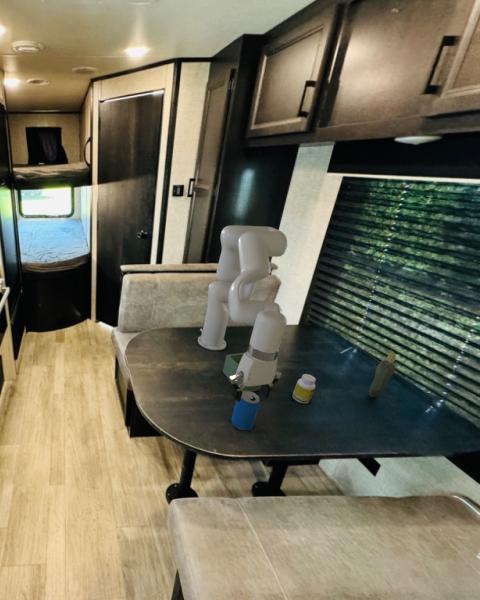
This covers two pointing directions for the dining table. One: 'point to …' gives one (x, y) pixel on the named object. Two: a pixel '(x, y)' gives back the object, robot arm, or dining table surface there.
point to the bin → (232, 366)
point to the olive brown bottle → (382, 375)
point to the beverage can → (245, 410)
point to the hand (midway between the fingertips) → (249, 396)
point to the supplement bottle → (304, 389)
